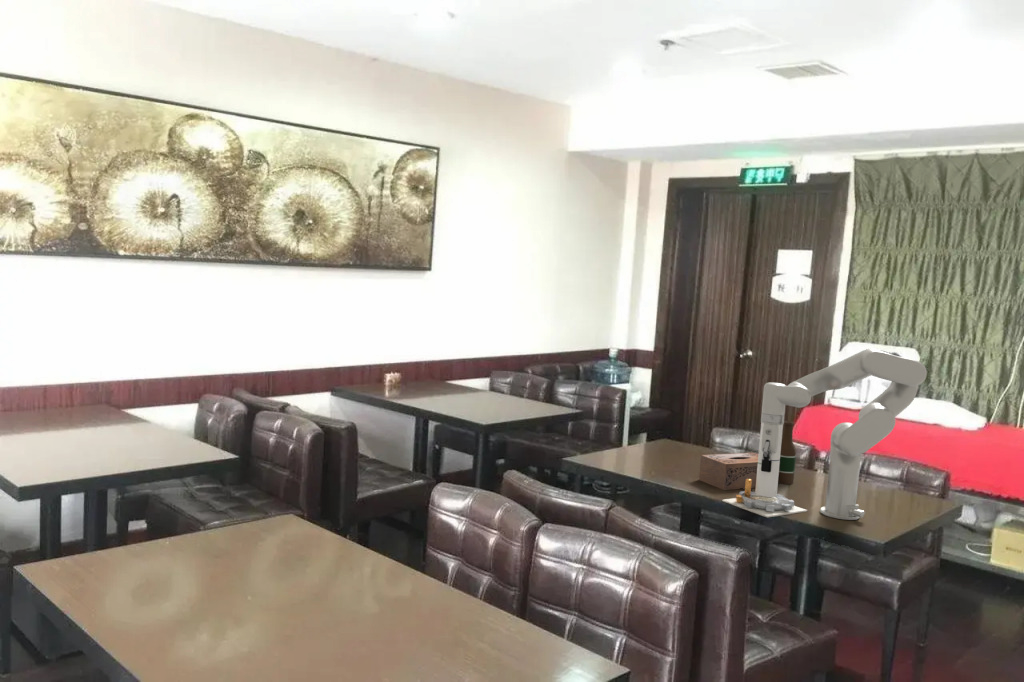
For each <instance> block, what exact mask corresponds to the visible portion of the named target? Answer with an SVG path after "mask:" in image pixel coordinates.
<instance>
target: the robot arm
mask: <svg viewBox="0 0 1024 682" xmlns="http://www.w3.org/2000/svg"><path fill="white" fill-rule="evenodd" d="M927 374H928V372H927V368H926V367H925V365H924V364H923V363H922V362H920V361H918V360H916V359H912V358H909V357H903V356H900V355H899V356H898V355H894V354H892V353H888V352H885V351H881V350H879V349H877V348H865V349H864V350H862V351H859V352H856V353H855V354H853V355H851V356H849V357H847V358H844V359H842V360H840V361H838V362H836V363H834V364H832V365H829V366H826V367H824V368H822V369H820V370H816V371H814V372H811V373H809V374H807V375H804V376H803V377H800V378H798V379H797V380H794V381H791V382H790V383H789V384H788V385H786V384H784V383H780V382H772V381H771V382H766V383H765V384H764V385H763V390H762V391H763V392H762V402H761V403H762V405H761V417H760V423H761V422H762V423H764V426H763V435H762V446H761V450H762V451H763V448H764V451H763V456H762V464H761V471H764V472H771V464H772V461H771V457H772V452H774V453H777V446H778V432H779V429H778V425H783V426H784V422H785V413H786V406H790V407H794V408H805V407H807V406H808V405H809V404H810V403H811V401H812V397H814V396H817V395H818V394H821V393H824V392H828V391H836V390H837V391H838V390H840V389H844V388H848V387H850V386H851V385H853V384H855V383H858V382H859V381H862V380H864V379H867V378H868V377H871V376H873V377H876V378H879V379H881V380H886V381H888V382H890V384H889V386H888V387H887V388H886V389H885V390H884V391H883V392H882V393H880V394H879V395H877V397H875V398H874V399H873V400H872V401H870V402H868V403H867V404H866V405H865V406H863V407H862V408H861V409H860V411H859V413H858V420H857V421H855V422H852V423H851V422H847V421H846V422H841V423H838V424H837V425H835V427H833V430H832V431H831V434H830V456H829V457H830V458H829V466H828V467H829V468H828V476H827V477H828V478H827V487H826V497H825V498H826V499H825V505H824V506H822V507H820V511H819V512H820V513H821V514H822V515H824V516H827V517H830V518H833V519H839V520H844V521H856V520H859V519H860V518H863V517H864V516H865V514H866V511H865V510H862V509H860V508H859V507H860V505H859V504H858V503H857V497H858V488H859V487H858V486H859V478H860V477H859V476H860V470H861V469H860V468H861V455H864V454H865V453H866V452H868V451H869V450H871V448H873V447H874V446H876V445H877V444H879V442H881V441H882V440H884V439H885V438H887V436H888V435H890V434H891V433H892V432H893V430H894V428H895V426H896V417H898V416H899V415H900V414H901V413H902V412H903V411H904V410H906V409H907V408H908V407H909V406H910V405H911V404H912V402H913V401H914V400H915V398H916V395H917V392H918V390H919V389H918V388H919V385H921V384H922V383H924V382H925V381H926V378H927V376H928V375H927ZM768 431H770V432H768ZM769 446H770V448H771V451H768V449H769ZM768 453H769V454H770V455H769V454H768Z"/></svg>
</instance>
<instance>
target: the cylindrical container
mask: <svg viewBox="0 0 1024 682" xmlns="http://www.w3.org/2000/svg"><path fill="white" fill-rule="evenodd" d="M760 423H761V424H760V433H759V443H758V454H759V455H758V466H757V478H756V488H755V491H754V492H755V493H756V494H757V495H760V496H765V497H776V496H777V494H778V485H779V483H778V475H779V464H780V453H781V441H782V436H783V430H784V424H783V425H778V429H779V432H778V446H777V453H774V452H772V457H771V461H772V464H771V472H764V471H761V464H762V456H763V451H764V448H763V451H762V450H761V446H762V435H763V426H764V423H762V422H761V421H760ZM768 432H770V431H768ZM768 451H771V448H770V446H769V449H768ZM768 454H769V453H768ZM769 455H770V454H769Z"/></svg>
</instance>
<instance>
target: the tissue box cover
mask: <svg viewBox="0 0 1024 682" xmlns="http://www.w3.org/2000/svg"><path fill="white" fill-rule="evenodd" d="M758 455H759V453H754V452H740V453H739V452H738V453H737V452H736V453H717V454H716V453H715V454H701V455H700V463H699V473H698V475H699V476H698V480H699V481H700V482H703V483H705V484H708V485H711V486H713V487H715V488H718V489H720V490H723V491H725V490H727V489H729V490H741V489H740V488H743V489H745V483H746V479H751V480H752V483H751V489H756V478H757V466H758ZM727 491H728V490H727Z"/></svg>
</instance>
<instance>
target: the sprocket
mask: <svg viewBox="0 0 1024 682" xmlns="http://www.w3.org/2000/svg"><path fill="white" fill-rule="evenodd" d="M751 483H752V480H751V479H746V483H745V488H744V490H741V491H739V493H738V494H735V498H736V501H737V502H742V503H743V504H745V506H746V507H749V508H753V507H754V508H758V509H763V510H766V511H773V512H774V511H779V510H784V511H790V510H791V507H794V506H795V500H793V499H788V498H787V497H785V495H783V494H779V493H777V496H776V497H765V496H760V495H757V494H756V493H755V491H751V490H752V488H751Z"/></svg>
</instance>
